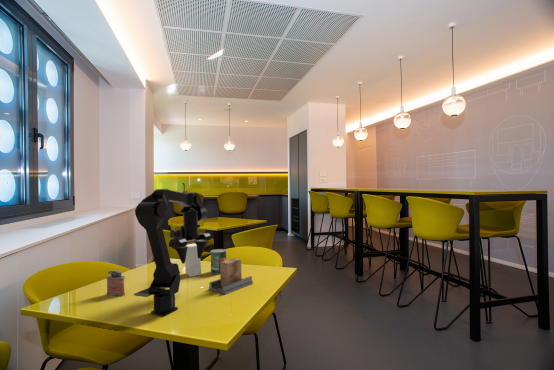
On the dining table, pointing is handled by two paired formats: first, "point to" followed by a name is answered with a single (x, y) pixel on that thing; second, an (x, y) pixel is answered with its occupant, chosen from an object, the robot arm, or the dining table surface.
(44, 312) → the dining table surface
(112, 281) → the lighter
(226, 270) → the brown wooden block
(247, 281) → the door track
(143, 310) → the dining table surface
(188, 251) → the skincare box
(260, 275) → the dining table surface
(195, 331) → the dining table surface
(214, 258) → the canned tomato
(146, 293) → the cell phone
